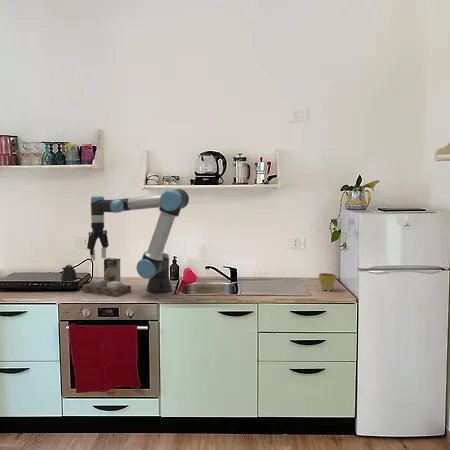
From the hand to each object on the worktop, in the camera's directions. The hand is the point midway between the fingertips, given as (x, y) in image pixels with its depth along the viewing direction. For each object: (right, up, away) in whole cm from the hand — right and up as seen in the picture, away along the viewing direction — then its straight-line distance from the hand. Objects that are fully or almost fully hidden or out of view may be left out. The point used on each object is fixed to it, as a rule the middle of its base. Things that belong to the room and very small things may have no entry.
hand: (98, 259), depth 309 cm
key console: (+5, -20, -1) cm, 20 cm away
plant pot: (+139, -20, +8) cm, 141 cm away
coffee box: (+3, -17, +24) cm, 30 cm away
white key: (+11, -17, -4) cm, 20 cm away
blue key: (0, -16, +2) cm, 16 cm away
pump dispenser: (-19, -19, +6) cm, 28 cm away
